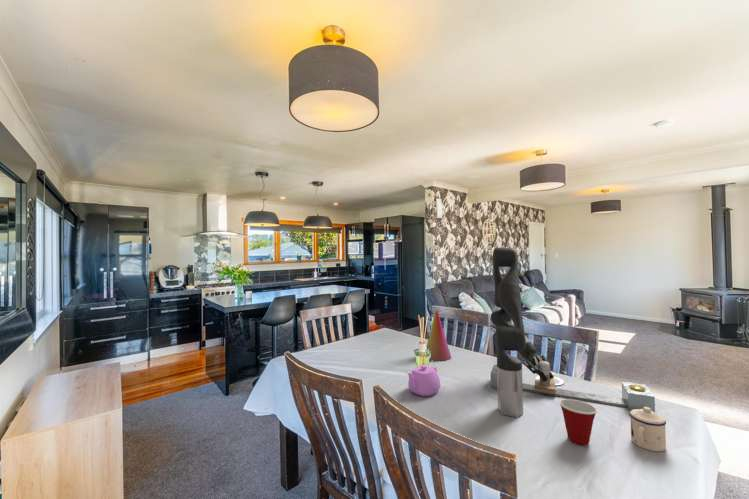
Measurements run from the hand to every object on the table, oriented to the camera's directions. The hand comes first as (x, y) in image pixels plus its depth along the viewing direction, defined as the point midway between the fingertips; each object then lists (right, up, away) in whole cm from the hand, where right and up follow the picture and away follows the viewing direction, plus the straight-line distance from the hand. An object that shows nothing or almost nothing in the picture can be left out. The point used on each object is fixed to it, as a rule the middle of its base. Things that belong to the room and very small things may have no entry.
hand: (549, 379), depth 144 cm
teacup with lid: (+10, -6, -39) cm, 41 cm away
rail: (+6, -6, -2) cm, 9 cm away
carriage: (-1, -5, +2) cm, 5 cm away
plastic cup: (-9, -6, -36) cm, 38 cm away
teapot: (-55, -8, +4) cm, 56 cm away
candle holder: (+7, -7, +13) cm, 16 cm away
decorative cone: (-39, -7, +52) cm, 65 cm away
